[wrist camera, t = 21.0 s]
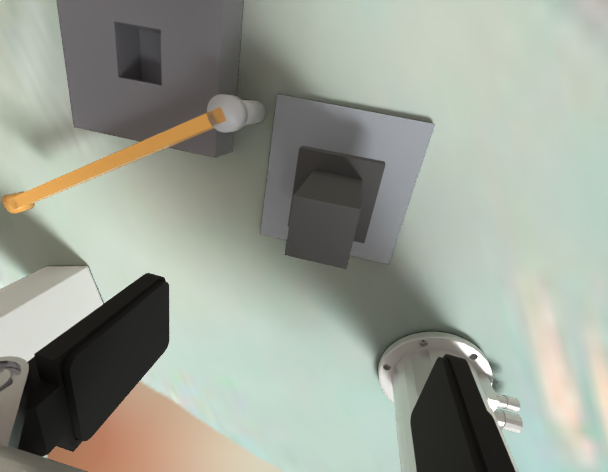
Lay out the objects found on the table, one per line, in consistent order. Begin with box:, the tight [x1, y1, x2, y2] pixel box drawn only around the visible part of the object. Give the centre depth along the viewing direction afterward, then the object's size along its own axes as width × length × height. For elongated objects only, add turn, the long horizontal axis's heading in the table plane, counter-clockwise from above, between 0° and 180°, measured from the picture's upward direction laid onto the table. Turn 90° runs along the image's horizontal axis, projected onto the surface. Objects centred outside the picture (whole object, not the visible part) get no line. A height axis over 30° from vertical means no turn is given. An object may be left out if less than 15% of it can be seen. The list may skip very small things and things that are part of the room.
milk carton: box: [0, 266, 103, 362], centre depth 34 cm, size 7×7×19 cm
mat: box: [260, 94, 435, 264], centre depth 30 cm, size 14×14×1 cm
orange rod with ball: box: [2, 94, 248, 214], centre depth 26 cm, size 26×3×2 cm, turn 110°
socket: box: [57, 0, 266, 157], centre depth 26 cm, size 17×14×6 cm
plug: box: [285, 146, 386, 269], centre depth 24 cm, size 7×7×12 cm
